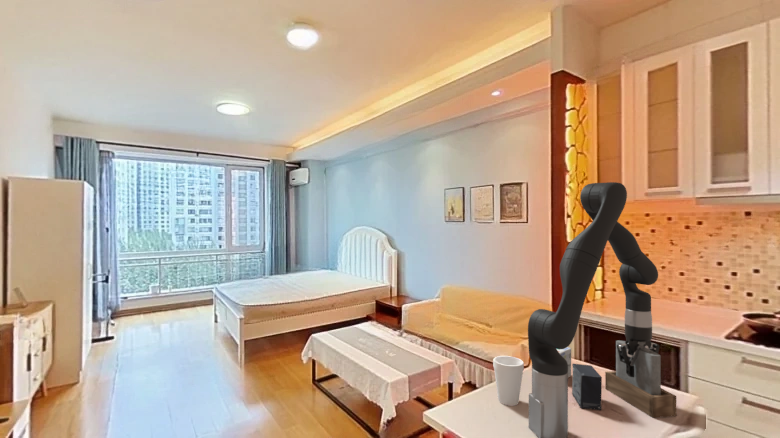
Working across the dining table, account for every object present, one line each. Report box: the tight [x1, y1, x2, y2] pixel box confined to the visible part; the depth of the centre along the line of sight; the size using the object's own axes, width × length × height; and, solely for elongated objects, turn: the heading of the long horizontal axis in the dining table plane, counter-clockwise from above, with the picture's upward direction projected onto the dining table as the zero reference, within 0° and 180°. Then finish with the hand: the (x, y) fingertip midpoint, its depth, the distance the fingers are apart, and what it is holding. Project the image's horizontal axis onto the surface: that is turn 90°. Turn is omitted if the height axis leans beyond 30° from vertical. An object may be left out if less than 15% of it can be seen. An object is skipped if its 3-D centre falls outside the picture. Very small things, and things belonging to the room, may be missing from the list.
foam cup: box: [492, 355, 525, 407], centre depth 124 cm, size 10×9×13 cm
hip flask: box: [615, 339, 662, 396], centre depth 124 cm, size 16×4×20 cm, turn 12°
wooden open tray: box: [604, 370, 677, 419], centre depth 124 cm, size 8×20×6 cm, turn 8°
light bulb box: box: [556, 346, 572, 378], centre depth 144 cm, size 11×7×11 cm, turn 130°
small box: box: [571, 363, 603, 411], centre depth 124 cm, size 11×6×10 cm, turn 168°
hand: (638, 375), depth 124 cm, fingers open, 5 cm apart
